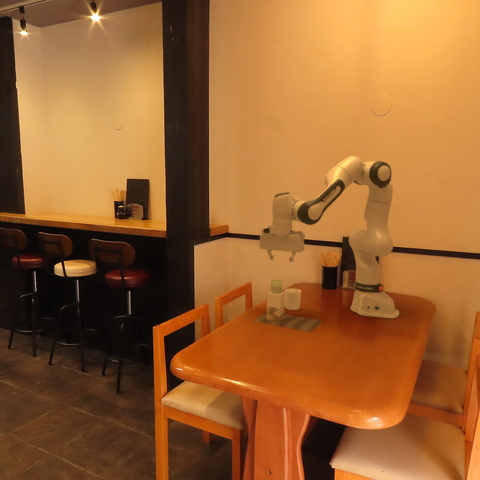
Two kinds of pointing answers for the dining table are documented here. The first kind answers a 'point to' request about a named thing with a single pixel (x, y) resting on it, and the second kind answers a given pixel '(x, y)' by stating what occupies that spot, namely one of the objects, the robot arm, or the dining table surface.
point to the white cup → (292, 299)
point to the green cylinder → (276, 286)
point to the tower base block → (275, 313)
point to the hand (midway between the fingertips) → (281, 260)
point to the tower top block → (276, 299)
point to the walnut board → (292, 322)
